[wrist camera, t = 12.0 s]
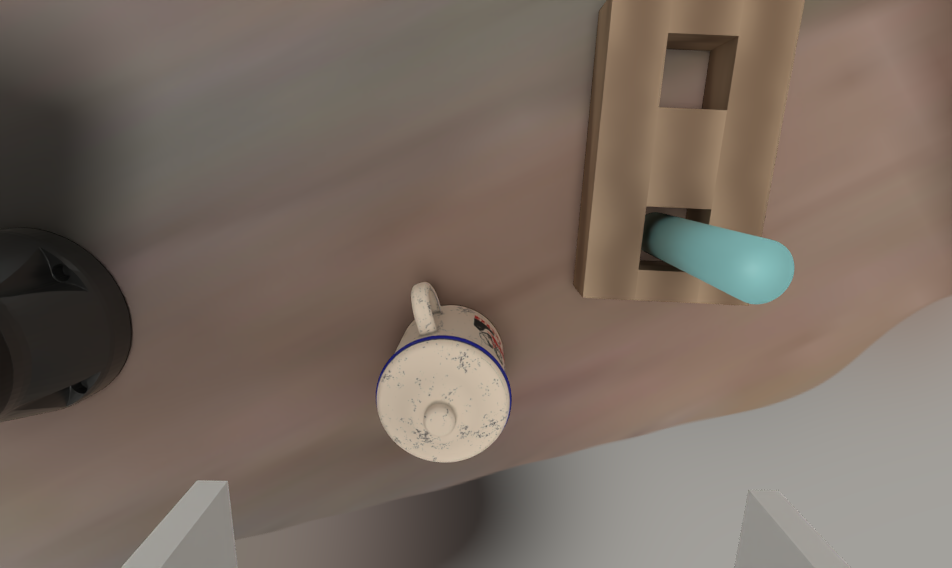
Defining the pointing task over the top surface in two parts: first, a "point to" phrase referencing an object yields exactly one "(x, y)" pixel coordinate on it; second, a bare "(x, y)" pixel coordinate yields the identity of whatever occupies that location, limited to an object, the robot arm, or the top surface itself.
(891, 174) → the top surface
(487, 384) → the teacup with lid
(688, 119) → the walnut hole block
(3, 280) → the robot arm
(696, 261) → the teal peg
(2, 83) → the top surface
